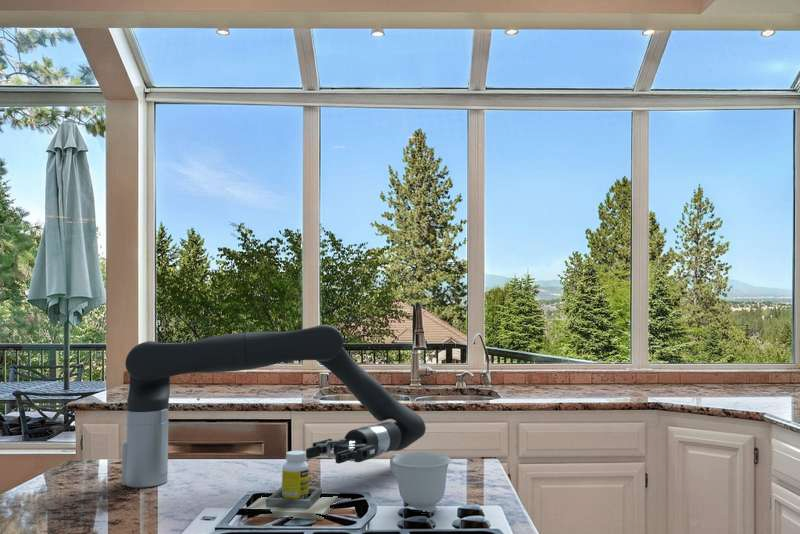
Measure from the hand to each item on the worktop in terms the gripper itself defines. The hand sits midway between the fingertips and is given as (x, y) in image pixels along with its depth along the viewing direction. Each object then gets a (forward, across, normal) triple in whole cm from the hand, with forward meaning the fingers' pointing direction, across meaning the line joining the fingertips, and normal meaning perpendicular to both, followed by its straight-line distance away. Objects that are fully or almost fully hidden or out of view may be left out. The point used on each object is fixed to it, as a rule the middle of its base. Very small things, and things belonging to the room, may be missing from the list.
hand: (321, 456), depth 137 cm
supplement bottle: (+8, 0, +8) cm, 11 cm away
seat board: (+8, 0, +9) cm, 12 cm away
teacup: (-5, +21, +9) cm, 24 cm away
